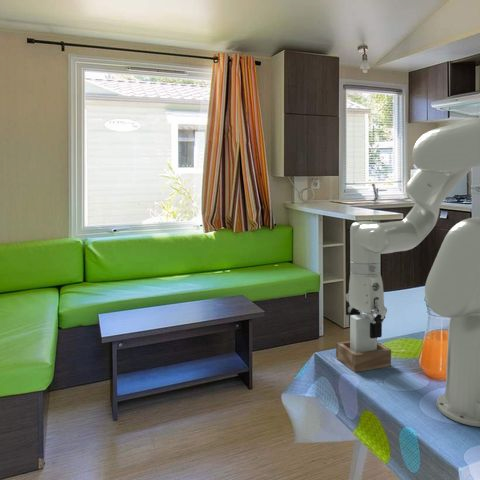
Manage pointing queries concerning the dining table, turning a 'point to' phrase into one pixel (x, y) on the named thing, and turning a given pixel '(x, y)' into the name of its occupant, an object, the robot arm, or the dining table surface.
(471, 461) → the dining table surface
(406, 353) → the dining table surface
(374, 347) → the skincare box
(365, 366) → the small open wooden box
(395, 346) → the dining table surface
